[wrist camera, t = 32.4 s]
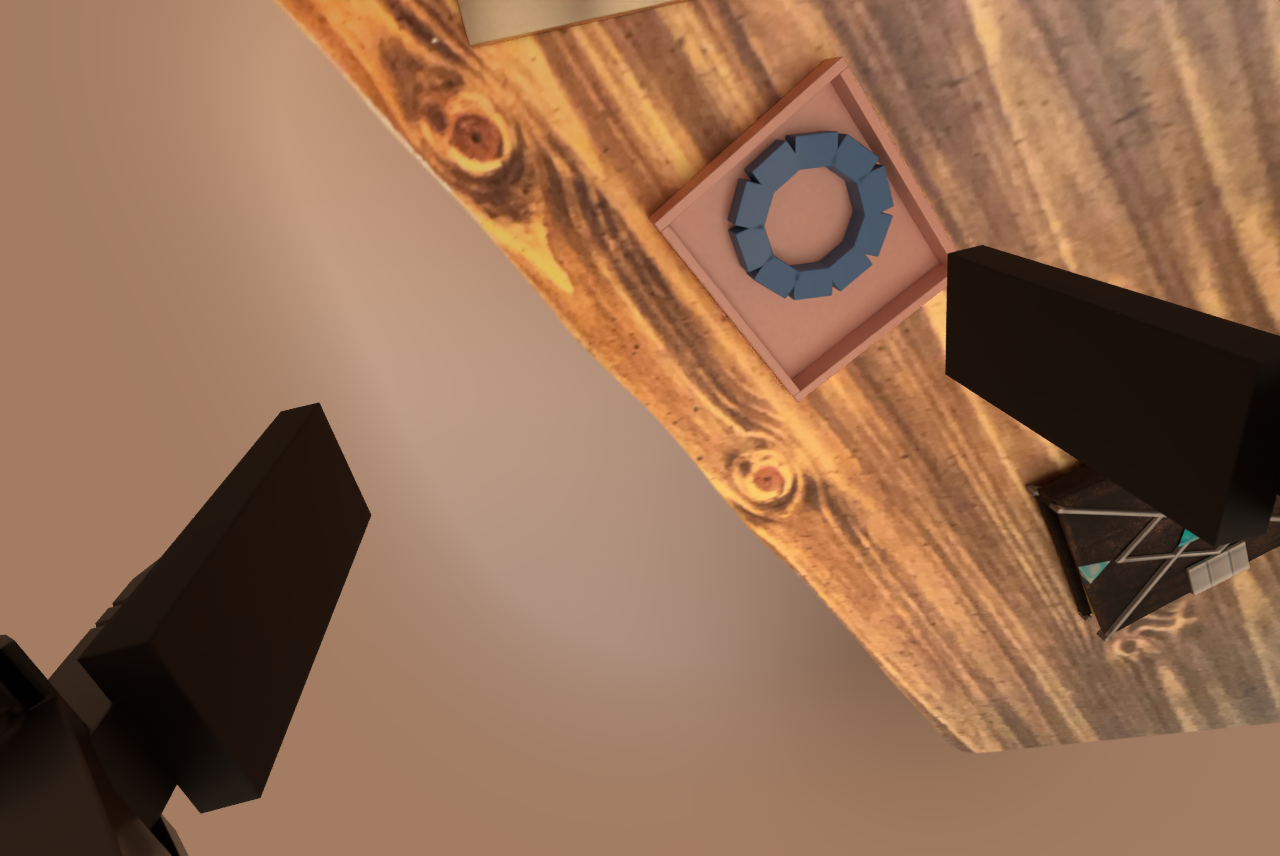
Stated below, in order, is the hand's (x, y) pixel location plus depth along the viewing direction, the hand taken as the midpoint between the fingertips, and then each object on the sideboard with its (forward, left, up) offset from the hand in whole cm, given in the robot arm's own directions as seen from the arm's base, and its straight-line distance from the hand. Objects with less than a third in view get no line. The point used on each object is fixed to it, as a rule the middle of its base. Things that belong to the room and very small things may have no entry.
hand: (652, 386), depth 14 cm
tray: (+13, -5, -29) cm, 32 cm away
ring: (+13, -3, -28) cm, 31 cm away
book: (+42, -32, -29) cm, 60 cm away
